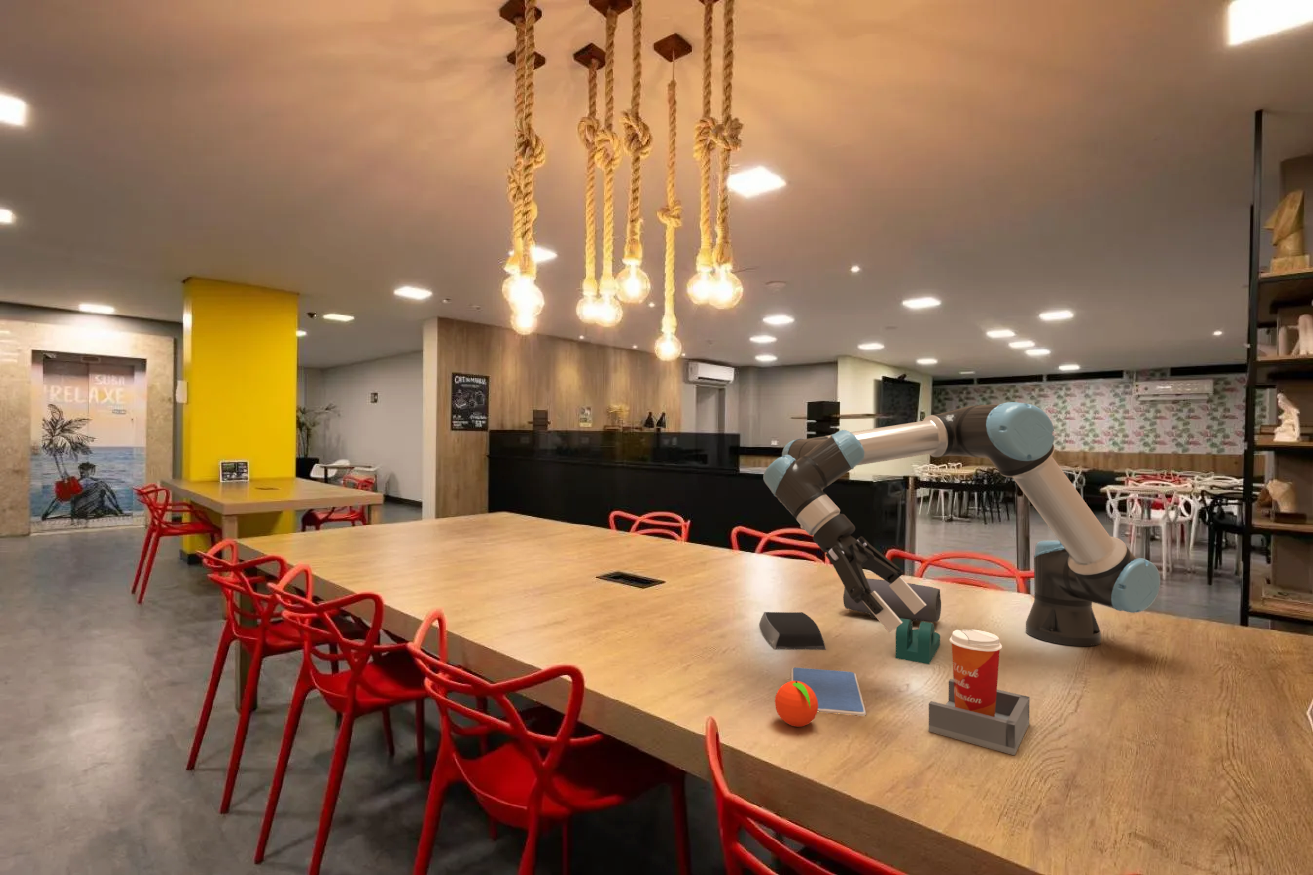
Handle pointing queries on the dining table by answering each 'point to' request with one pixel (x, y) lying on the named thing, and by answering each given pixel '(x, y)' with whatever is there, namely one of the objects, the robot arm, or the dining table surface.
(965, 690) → the paper cup
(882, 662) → the dining table surface
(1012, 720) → the cup holder
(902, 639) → the bracket
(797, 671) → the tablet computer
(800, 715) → the clementine
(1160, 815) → the dining table surface
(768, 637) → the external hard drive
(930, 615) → the bluetooth speaker
